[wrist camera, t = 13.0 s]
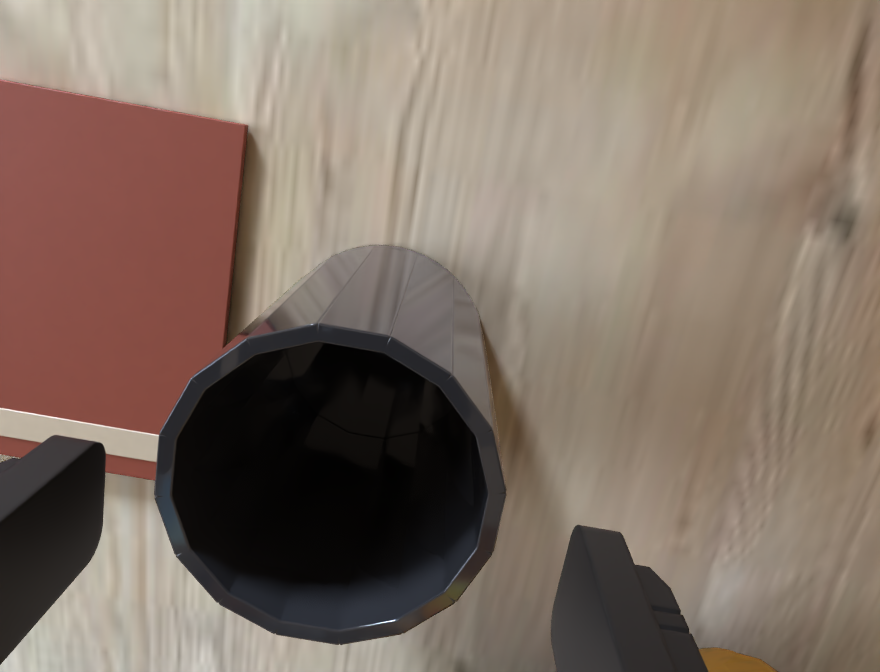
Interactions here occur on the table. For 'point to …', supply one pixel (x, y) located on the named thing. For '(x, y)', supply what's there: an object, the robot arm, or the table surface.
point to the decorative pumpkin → (732, 661)
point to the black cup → (340, 454)
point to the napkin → (110, 266)
